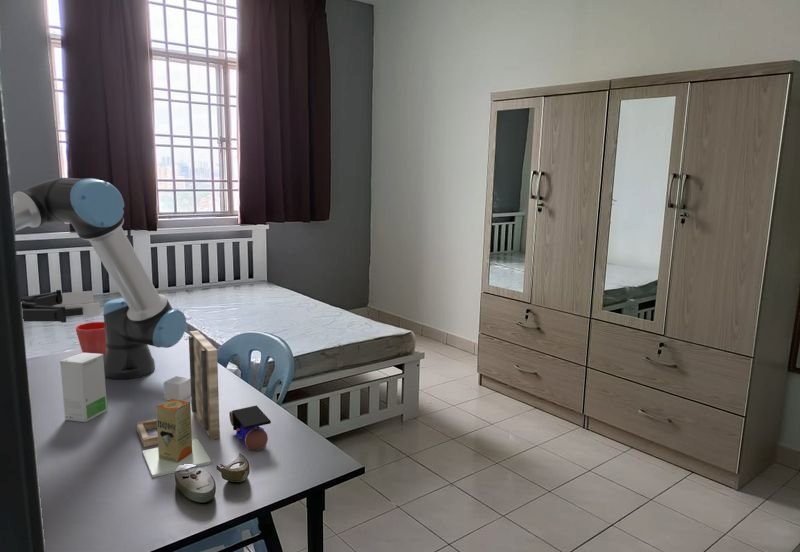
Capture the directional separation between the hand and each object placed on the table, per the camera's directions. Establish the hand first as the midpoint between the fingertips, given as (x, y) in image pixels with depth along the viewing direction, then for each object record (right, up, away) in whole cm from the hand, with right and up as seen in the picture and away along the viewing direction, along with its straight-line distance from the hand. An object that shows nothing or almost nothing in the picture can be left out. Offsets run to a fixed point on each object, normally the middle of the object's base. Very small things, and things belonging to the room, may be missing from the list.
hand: (96, 302), depth 134 cm
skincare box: (-10, -30, +14) cm, 35 cm away
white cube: (+8, -28, +27) cm, 40 cm away
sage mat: (+21, -34, -6) cm, 41 cm away
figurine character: (+35, -33, +4) cm, 48 cm away
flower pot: (-32, -20, +61) cm, 72 cm away
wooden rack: (+16, -32, +7) cm, 36 cm away
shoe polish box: (+21, -34, -6) cm, 40 cm away
